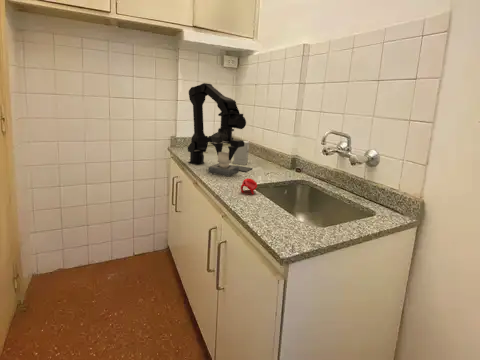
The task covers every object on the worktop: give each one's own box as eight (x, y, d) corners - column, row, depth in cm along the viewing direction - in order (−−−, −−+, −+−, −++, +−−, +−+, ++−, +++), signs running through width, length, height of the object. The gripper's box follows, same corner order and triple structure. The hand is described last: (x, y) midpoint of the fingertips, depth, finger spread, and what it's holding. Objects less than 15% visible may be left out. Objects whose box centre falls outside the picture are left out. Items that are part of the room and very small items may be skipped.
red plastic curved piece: (254, 189, 118) (261, 178, 122) (241, 181, 119) (247, 171, 123) (250, 200, 125) (256, 190, 128) (237, 193, 126) (244, 183, 129)
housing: (208, 172, 151) (208, 166, 150) (218, 168, 161) (219, 163, 160) (229, 176, 147) (229, 170, 146) (238, 172, 157) (238, 166, 156)
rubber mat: (229, 169, 160) (230, 168, 160) (236, 166, 168) (237, 165, 168) (246, 172, 157) (246, 171, 157) (252, 169, 165) (252, 168, 165)
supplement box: (245, 165, 174) (247, 142, 171) (232, 163, 175) (234, 141, 172) (248, 162, 181) (250, 141, 178) (235, 161, 182) (237, 139, 179)
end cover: (214, 167, 152) (215, 152, 150) (223, 165, 157) (224, 151, 155) (224, 169, 149) (225, 154, 147) (233, 167, 154) (234, 153, 152)
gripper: (200, 124, 147) (199, 157, 151) (231, 129, 136) (228, 164, 140) (215, 124, 156) (214, 155, 160) (246, 128, 145) (243, 161, 149)
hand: (224, 158), depth 152 cm, fingers closed on end cover, 6 cm apart
